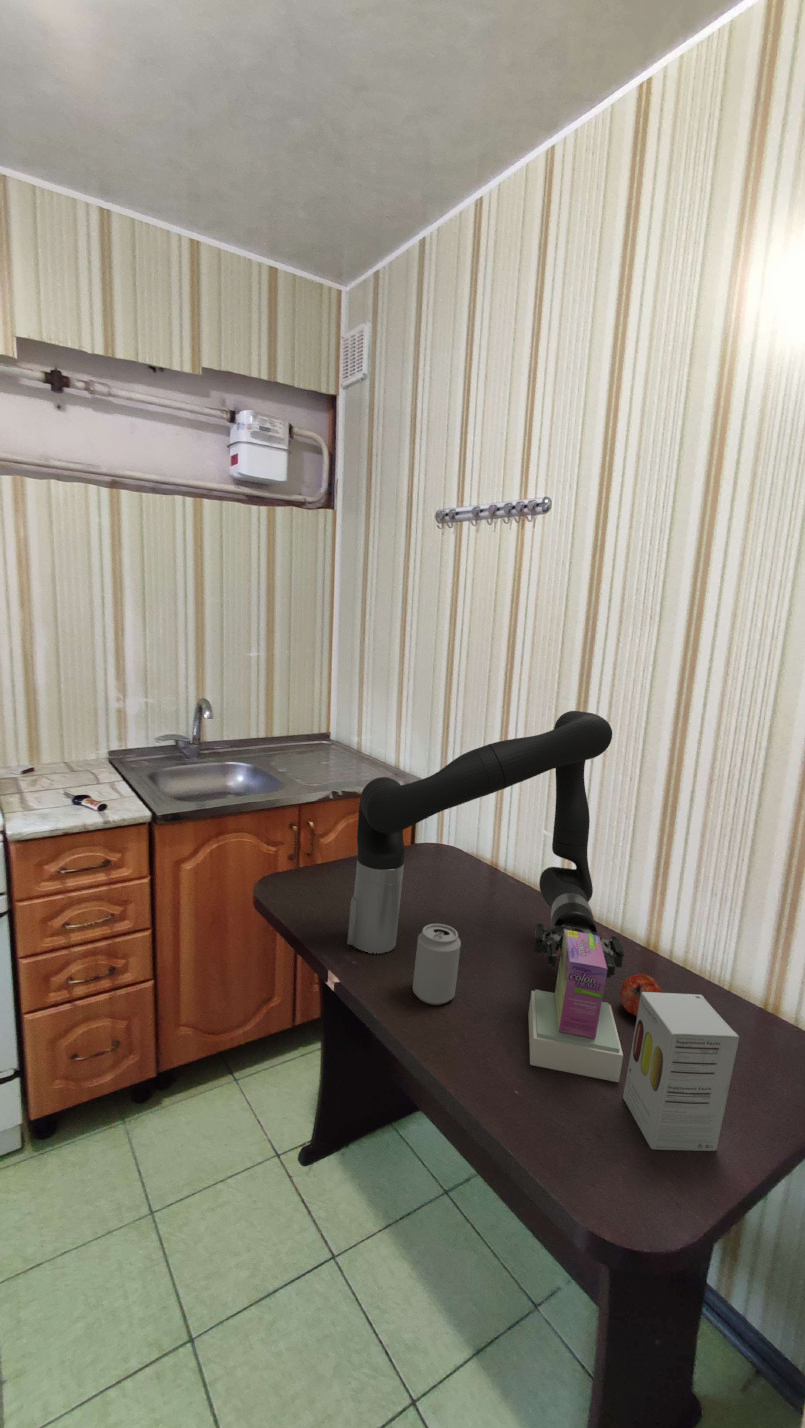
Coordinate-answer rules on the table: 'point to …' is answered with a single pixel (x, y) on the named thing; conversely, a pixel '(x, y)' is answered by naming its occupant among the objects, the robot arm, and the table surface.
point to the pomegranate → (637, 991)
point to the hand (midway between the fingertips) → (581, 967)
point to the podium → (573, 1042)
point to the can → (436, 964)
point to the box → (580, 984)
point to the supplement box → (679, 1071)
